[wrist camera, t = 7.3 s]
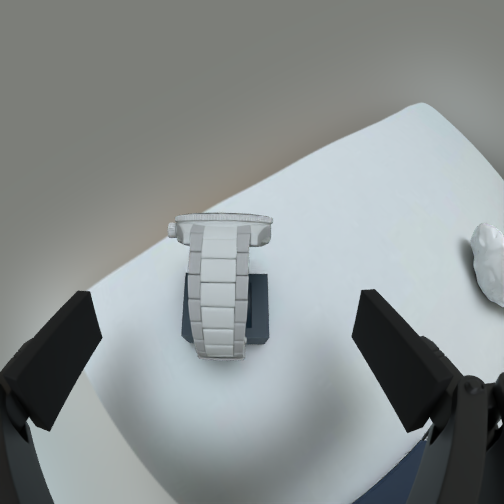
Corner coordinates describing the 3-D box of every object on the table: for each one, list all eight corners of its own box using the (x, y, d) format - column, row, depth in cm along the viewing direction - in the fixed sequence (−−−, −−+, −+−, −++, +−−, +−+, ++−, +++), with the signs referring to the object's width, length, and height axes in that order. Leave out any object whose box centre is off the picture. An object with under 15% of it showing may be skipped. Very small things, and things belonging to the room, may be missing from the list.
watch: (262, 265, 22) (283, 171, 13) (264, 367, 19) (296, 352, 9) (192, 264, 22) (164, 170, 12) (187, 365, 19) (136, 347, 9)
